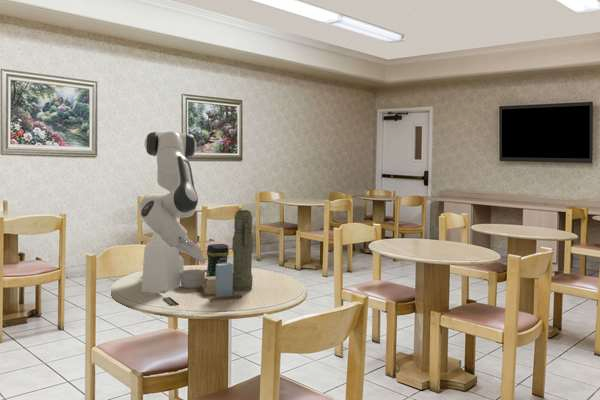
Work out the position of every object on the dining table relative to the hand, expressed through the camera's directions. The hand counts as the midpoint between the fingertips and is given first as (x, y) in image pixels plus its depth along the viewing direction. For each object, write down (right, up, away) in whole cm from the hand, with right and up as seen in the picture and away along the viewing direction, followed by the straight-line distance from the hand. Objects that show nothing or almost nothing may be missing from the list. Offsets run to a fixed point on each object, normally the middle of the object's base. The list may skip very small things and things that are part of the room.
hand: (199, 259), depth 207 cm
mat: (-8, -17, +2) cm, 19 cm away
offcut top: (+4, -12, +13) cm, 18 cm away
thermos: (+14, -16, +20) cm, 29 cm away
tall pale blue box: (+8, -15, +6) cm, 19 cm away
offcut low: (+4, -15, +13) cm, 20 cm away
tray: (+6, -16, +9) cm, 20 cm away
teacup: (-6, -15, +23) cm, 28 cm away
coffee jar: (+2, -15, +31) cm, 35 cm away
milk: (-20, -15, +19) cm, 32 cm away
